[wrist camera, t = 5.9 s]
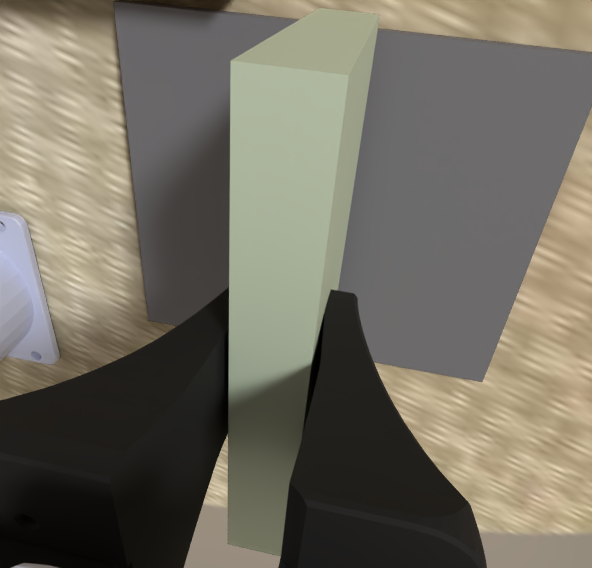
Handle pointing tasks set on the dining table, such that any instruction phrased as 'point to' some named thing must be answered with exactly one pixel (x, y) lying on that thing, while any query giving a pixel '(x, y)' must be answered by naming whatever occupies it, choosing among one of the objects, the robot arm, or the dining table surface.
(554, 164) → the mat
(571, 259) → the dining table surface
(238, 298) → the pale green rectangular block
